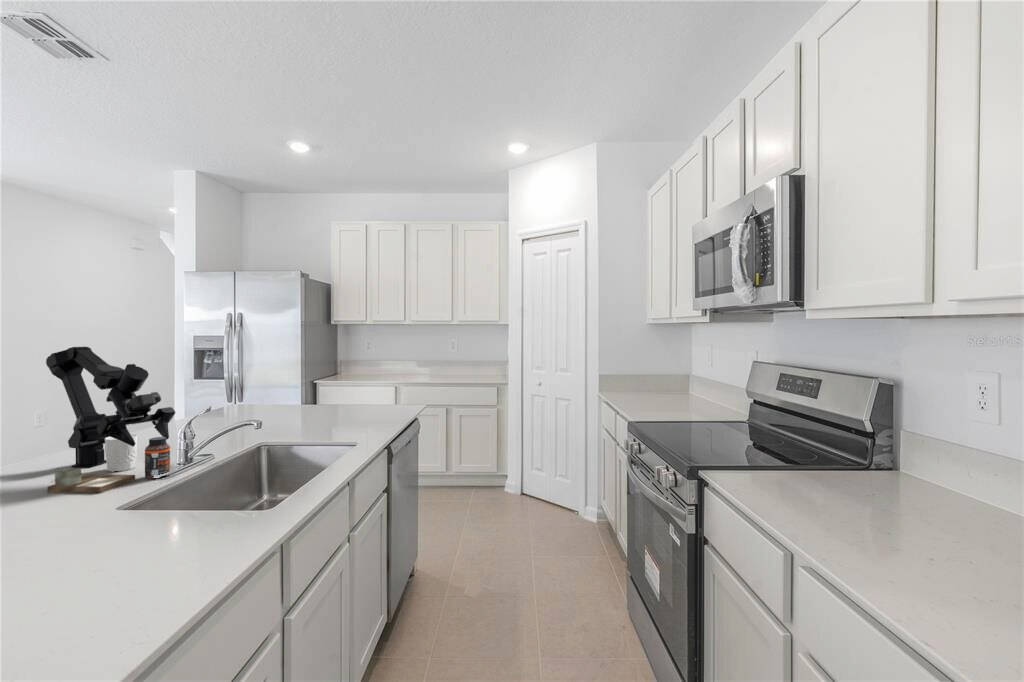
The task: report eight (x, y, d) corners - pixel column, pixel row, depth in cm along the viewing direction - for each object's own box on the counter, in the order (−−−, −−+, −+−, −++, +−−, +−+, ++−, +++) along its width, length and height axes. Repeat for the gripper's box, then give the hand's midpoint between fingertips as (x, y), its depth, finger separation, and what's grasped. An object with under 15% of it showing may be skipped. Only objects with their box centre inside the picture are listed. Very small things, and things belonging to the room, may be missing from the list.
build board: (47, 492, 125) (47, 473, 125) (86, 479, 136) (86, 461, 136) (100, 493, 124) (100, 473, 124) (135, 480, 135) (135, 462, 135)
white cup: (110, 467, 148) (109, 435, 148) (141, 464, 152) (140, 433, 151) (100, 474, 141) (100, 440, 141) (133, 470, 144) (133, 438, 144)
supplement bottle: (159, 479, 136) (159, 440, 135) (139, 479, 136) (139, 440, 136) (175, 473, 142) (174, 435, 141) (155, 473, 142) (155, 435, 142)
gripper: (102, 387, 133) (127, 429, 129) (171, 381, 150) (195, 418, 146) (85, 414, 136) (110, 456, 132) (155, 405, 153) (178, 441, 149)
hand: (151, 441), depth 140 cm, fingers open, 9 cm apart
